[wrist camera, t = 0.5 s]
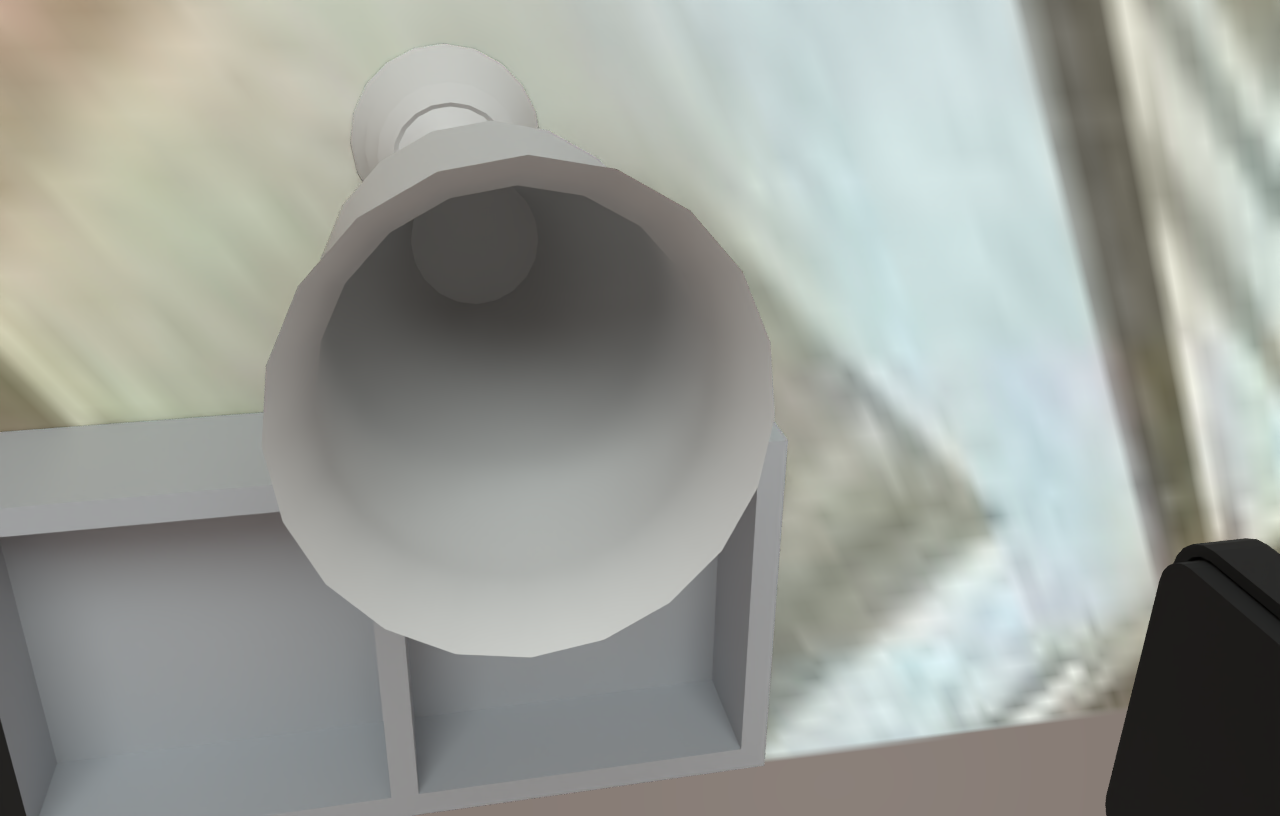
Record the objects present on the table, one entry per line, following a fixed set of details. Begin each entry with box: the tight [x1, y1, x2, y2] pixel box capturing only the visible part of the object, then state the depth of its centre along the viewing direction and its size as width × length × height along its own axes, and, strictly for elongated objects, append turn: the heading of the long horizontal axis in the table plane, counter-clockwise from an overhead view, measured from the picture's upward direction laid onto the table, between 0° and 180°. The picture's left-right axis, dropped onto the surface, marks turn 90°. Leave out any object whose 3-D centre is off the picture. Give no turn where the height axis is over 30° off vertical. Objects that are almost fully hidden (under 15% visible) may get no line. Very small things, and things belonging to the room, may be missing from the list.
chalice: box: [262, 44, 775, 657], centre depth 23 cm, size 7×7×18 cm
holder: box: [0, 412, 788, 816], centre depth 34 cm, size 22×12×4 cm, turn 89°
